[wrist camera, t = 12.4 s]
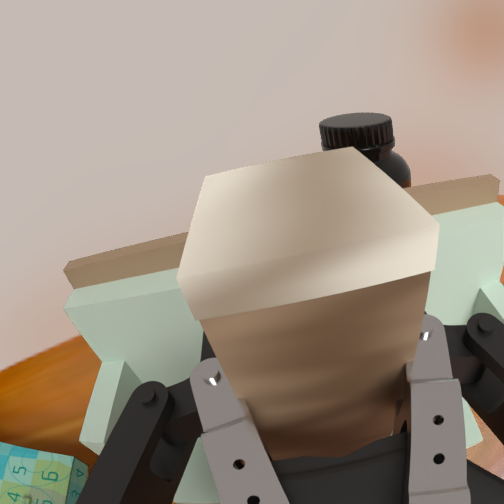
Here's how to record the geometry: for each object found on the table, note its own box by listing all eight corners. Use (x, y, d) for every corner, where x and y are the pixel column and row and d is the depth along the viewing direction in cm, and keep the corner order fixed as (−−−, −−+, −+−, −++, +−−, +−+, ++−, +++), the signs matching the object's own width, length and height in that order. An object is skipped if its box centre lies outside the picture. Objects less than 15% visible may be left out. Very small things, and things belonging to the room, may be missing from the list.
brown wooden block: (282, 482, 12) (176, 278, 5) (274, 395, 16) (205, 176, 10) (382, 462, 11) (439, 224, 5) (359, 378, 16) (352, 146, 9)
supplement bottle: (389, 239, 27) (383, 105, 21) (422, 285, 22) (429, 123, 15) (317, 254, 28) (296, 117, 22) (336, 307, 22) (317, 138, 16)
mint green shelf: (127, 498, 13) (-11, 403, 7) (148, 380, 20) (69, 261, 15) (521, 419, 11) (612, 275, 5) (463, 316, 18) (490, 174, 13)
